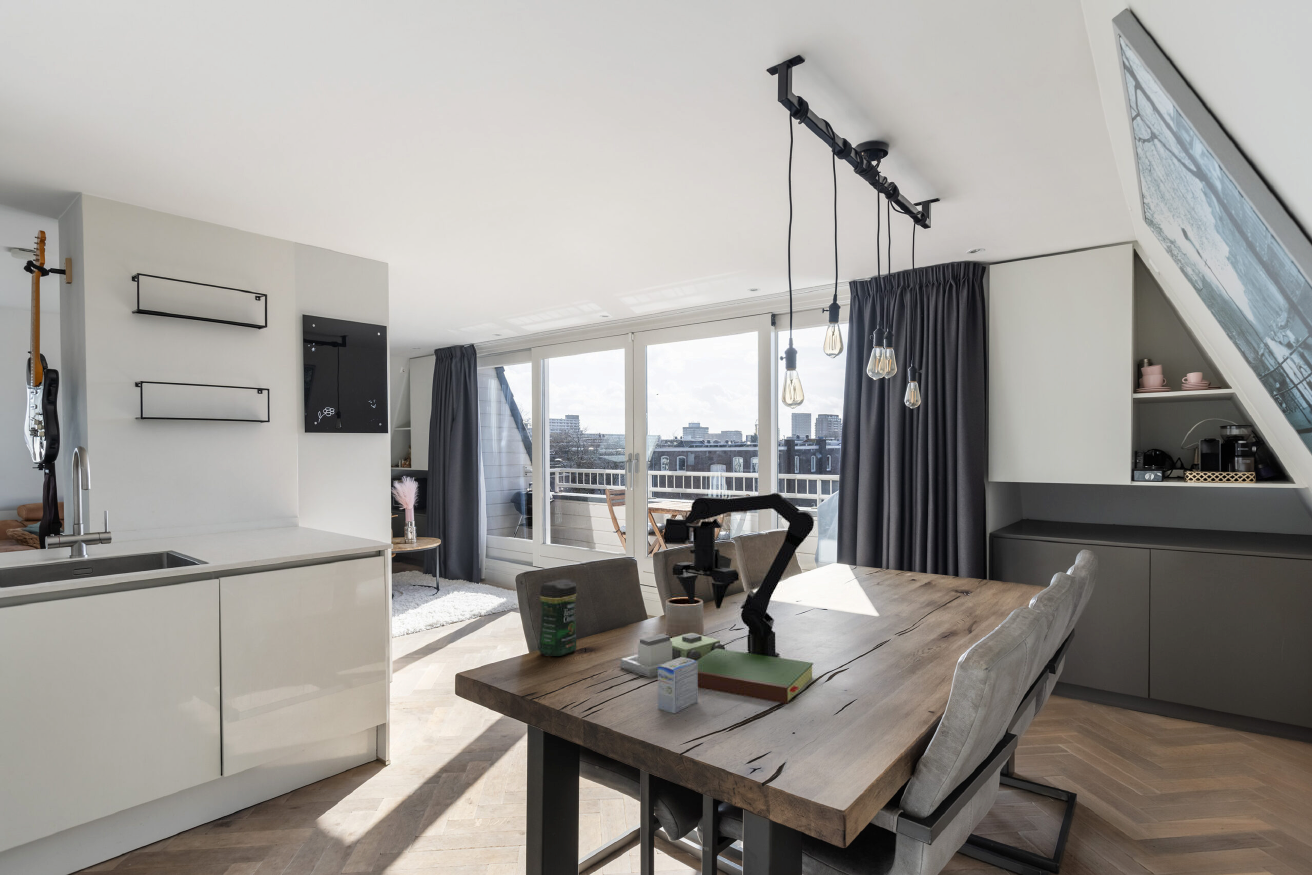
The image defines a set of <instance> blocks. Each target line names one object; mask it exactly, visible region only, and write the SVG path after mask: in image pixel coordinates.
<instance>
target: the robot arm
mask: <svg viewBox="0 0 1312 875" xmlns="http://www.w3.org/2000/svg"><path fill="white" fill-rule="evenodd" d="M690 507H691V510H690V512H689V513H688V515H687V516H686V517H685V519H684V518H681V519H680V518H672V517H670V518H666V519H665V525H664V531H663V543H664V544H665V545H683V546H685V545H688V543H689V542H692V544H693V546H692V547H693V548H689V553H690V554H693V558H692V559H693V562H691V561H684V562H677V563H674V565H673V566H672V575H674V576H675V578H676V579H677V580H678V581H679V583H680V585H681V586H682V588H683V590H684V592H685V594H686V597H688V599H689V601H690V603H694V600H695V598H696V580H697V579H698V576H704V577H708V578H709V577H710V578H711V579H712V580H713V582H711V588H712V594H713V600H714V605H715V608H716V609H717V610H718V609H721V606H722V604H723V600H724V597H725V595H726V592H727V590H728V588H729V587H730V586H731V585H733V584H735V582H738V581H739V572H738V570H737V569H736V568H735V569H734V568H731V565H732V561H733V560H732V558H730V557H727V556H725V555H721V554H720V548H716V529H721V528H723V527H724V525H723V524H722V523H721V522H720V521H719V519H718V518H717V517H718V516H722V515H725V514H730V513H739V512H740V513H741V512H750V511H761V510H770V509H771V510H773V511H775V512H776V513H777V514H779V515H780V517H781V518H783V519H784V520H785V521H786V522H787V523H788V527H787V530H786V534H785V536H784V539H783V542H782V544H781V546H780V548H779V550H778V551H777V554H776V555H775V557H774V559H773V561H772V563H771V565H770V566H769V568H768V571H767V572H766V575H764V578H763V580H762V582H761V584H760V585H759V587H758V588H757V589H756V590H755V591H753V590H752V589H749V591H748V594H747V595H746V599H745V600H744V601H743V602H742V604H741V605H740V609H741V613H740V618H741V621H742V622H743V624H744V625H745V626H747V628H748V630H747V631H748V632H747V633H748V634H747V635H746V636H747V640H746V641H747V652H745V653H750V654H757V655H764V656H770V657H779V656H780V653H779V652H777V651H776V650H777V649H776V631H773V627H774V623H775V619H774V618H773V617H772V616H771V615H770V614H769V613H768V612H767V610H768V609H769V605H770V601H771V598H772V596H773V594H774V591H775V590H776V588H777V587H778V584H779V582H780V580H781V579H782V576H783V574H785V571H786V569H787V568H788V566H789V564H790V562H791V560H792V558H793V557H794V554H795V553H796V551H797V549H798V548H799V547H800V545H801V544H802V543H804V541H805V539H806V538H807V537H808V536H809V535H810V533H811V532H812V531H813V529H814V526H815V519H814V517H813V515H812V513H810V511H807V510H805V509H804V510H803V509H799V507H797V506H795V505H794V504H793V503H791V501H789V500H788V499H786V498H785V497H784V496H783V495H782V494H780V493H778V492H772V493H768V494H760V495H759V494H758V495H757V494H756V495H749V496H737V497H728V498H727V497H721V496H720V497H718V496H709V495H708V496H707V495H705V496H700V497H698V498H696V499H694V501H693V502H692V504H691V506H690ZM712 518H713V520H712V521H709V520H708V519H712ZM699 520H701V522H700V524H694V523H696V522H699ZM702 520H703V521H702ZM692 538H693V540H692Z"/></svg>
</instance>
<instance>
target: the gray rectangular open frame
mask: <svg viewBox="0 0 1312 875" xmlns="http://www.w3.org/2000/svg"><path fill="white" fill-rule="evenodd" d="M668 662H669V661H668ZM665 663H667V662H665ZM662 664H664V663H661V664H658V665H654V666H651V667H649V666H646V665H643V664H641V663H638V654H635V655H631V656H628V657H623V658H620V668H621V669H624V670H626V671H629V672H632V673H634V674H637V675H640V676H643V677H646V678H648V679H651V678H654V677H658V666H660V665H662Z"/></svg>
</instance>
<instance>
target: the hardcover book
mask: <svg viewBox="0 0 1312 875" xmlns="http://www.w3.org/2000/svg"><path fill="white" fill-rule="evenodd" d="M697 662H698V688H699V689H704V690H709V691H714V692H720V693H726V694H731V695H732V694H733V695H737V696H743V697H747V698H753V699H754V698H755V699H759V700H764V701H769V702H774V703H780V704H786V705H787V704H788V703H789V701H790V700H792V698H793V697H794V696H795V695H796V694H797V693H799V691H800V690H801V689H802V688H803V687H804V686H805V685H807V683H808V682H809V681H810V680H811V679H812V678H813V665H814V662H810V661H802V660H796V659H791V658H790V659H789V658H784V657H778V656H776V657H770V656H764V655H757V654H750V653H746V652H742V651H737V650H730V649H729V650H728V649H725V650H723V649H717V648H716V649H715V650H713V651H711V652H710V653H708V654H706V655H705V656H703V657H701V658H700V659H698V660H697Z"/></svg>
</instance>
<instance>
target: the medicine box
mask: <svg viewBox="0 0 1312 875" xmlns="http://www.w3.org/2000/svg"><path fill="white" fill-rule="evenodd" d="M698 690H699V689H698V662H697V661H695V660H692V659H688V658H684V657H680V658H677V659H674V660H672V661H669V662H667V663H664V664H662V665H660V666H658V675H657V708H658V709H659V710H661V711H664V712H668V713H670V714H676V713H678V712H680V711H682V710H684V709H686V708H688V707H690V706H692V705H694V704H696V703H698V700H699V699H698V697H699V695H698V692H699V691H698Z"/></svg>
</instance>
